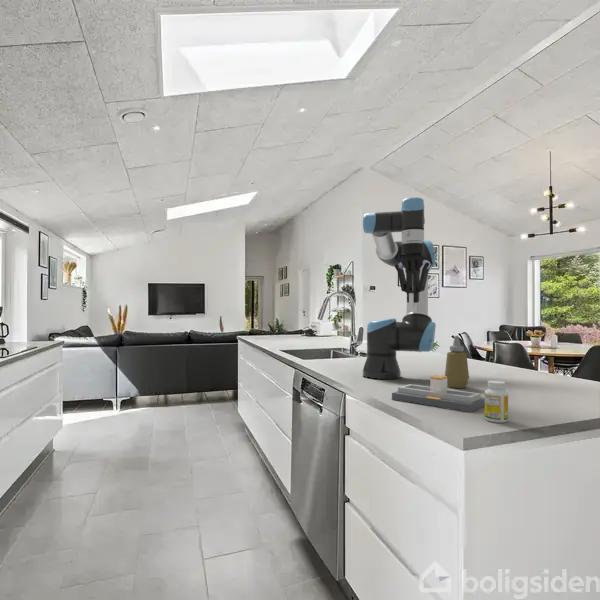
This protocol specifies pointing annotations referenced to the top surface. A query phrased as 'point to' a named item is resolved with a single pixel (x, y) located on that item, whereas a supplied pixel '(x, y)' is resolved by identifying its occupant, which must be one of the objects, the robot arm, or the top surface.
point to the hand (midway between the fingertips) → (412, 312)
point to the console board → (440, 397)
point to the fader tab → (438, 384)
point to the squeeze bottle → (457, 366)
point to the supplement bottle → (496, 402)
